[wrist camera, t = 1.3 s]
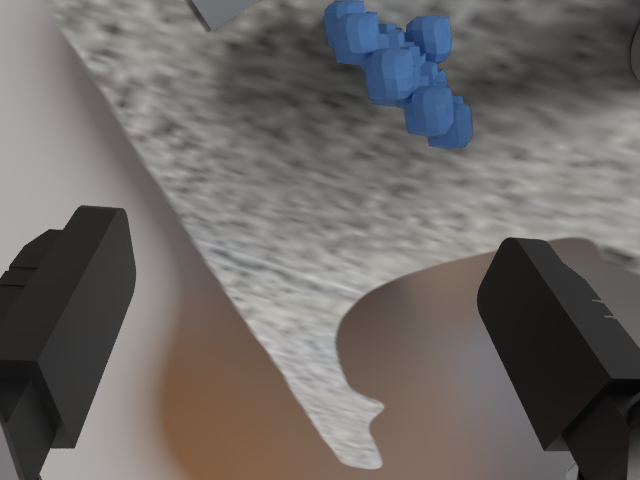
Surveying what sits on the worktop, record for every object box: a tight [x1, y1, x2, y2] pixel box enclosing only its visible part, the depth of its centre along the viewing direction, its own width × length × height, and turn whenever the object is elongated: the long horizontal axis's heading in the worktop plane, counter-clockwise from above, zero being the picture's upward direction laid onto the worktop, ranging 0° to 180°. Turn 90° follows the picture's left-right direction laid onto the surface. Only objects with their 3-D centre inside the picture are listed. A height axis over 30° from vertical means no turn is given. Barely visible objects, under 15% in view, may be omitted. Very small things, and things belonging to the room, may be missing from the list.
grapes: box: [324, 0, 473, 149], centre depth 28 cm, size 12×7×12 cm, turn 51°
